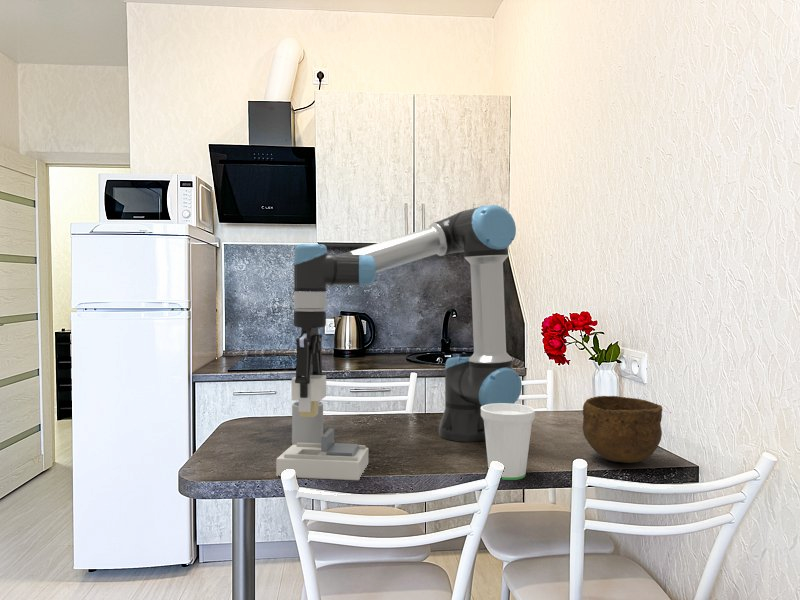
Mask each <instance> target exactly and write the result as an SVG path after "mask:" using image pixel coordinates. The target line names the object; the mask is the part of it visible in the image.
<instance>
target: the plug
mask: <svg viewBox="0 0 800 600" xmlns="http://www.w3.org/2000/svg"><path fill="white" fill-rule="evenodd" d="M303 377H304V376H303ZM295 380H296V376H294V377H292V378H291V401H296V402H299V383H295ZM310 383H311V412H300V417H315V416H316V415H317V414H318V401H319V402H321V401H322V400H323V399H324V398H326V397H327V375H325V374H323V375H312V364H311V374H310Z"/></svg>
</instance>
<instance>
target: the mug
mask: <svg viewBox="0 0 800 600" xmlns="http://www.w3.org/2000/svg"><path fill="white" fill-rule="evenodd" d="M291 411H292V412H291V444H292V445H297V443H320V444H321V436H322V435H323V434H324V403H323V402H322V401H319V406H318V414H317V415H316V416H315V417H300V412H299V401H296V402H293V403H292V404H291Z"/></svg>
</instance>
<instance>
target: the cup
mask: <svg viewBox="0 0 800 600" xmlns="http://www.w3.org/2000/svg"><path fill="white" fill-rule="evenodd" d="M481 417H482V418H483V420H484V428H485V438H486V440H485V446H486V459H487V466H488V468H489V466H490V463H491V462H492V461H498V462H500V463H502V464H503V465H504V467H505V469H504V472H503V474H502V479H501V481H502V480H504V481H517V480H522V479H524V478H525V477H526V474H527V472H526V471H527V465H528V455H529V449H530V448H529V447H530V441H531V439H530V438H531V433H532V424H533V421H534V420H535V418H536V409H535V408H534V407H531V406H529V405H524V404H519V403H514V404H509V403H496V404H487V405H484V406H481Z"/></svg>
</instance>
